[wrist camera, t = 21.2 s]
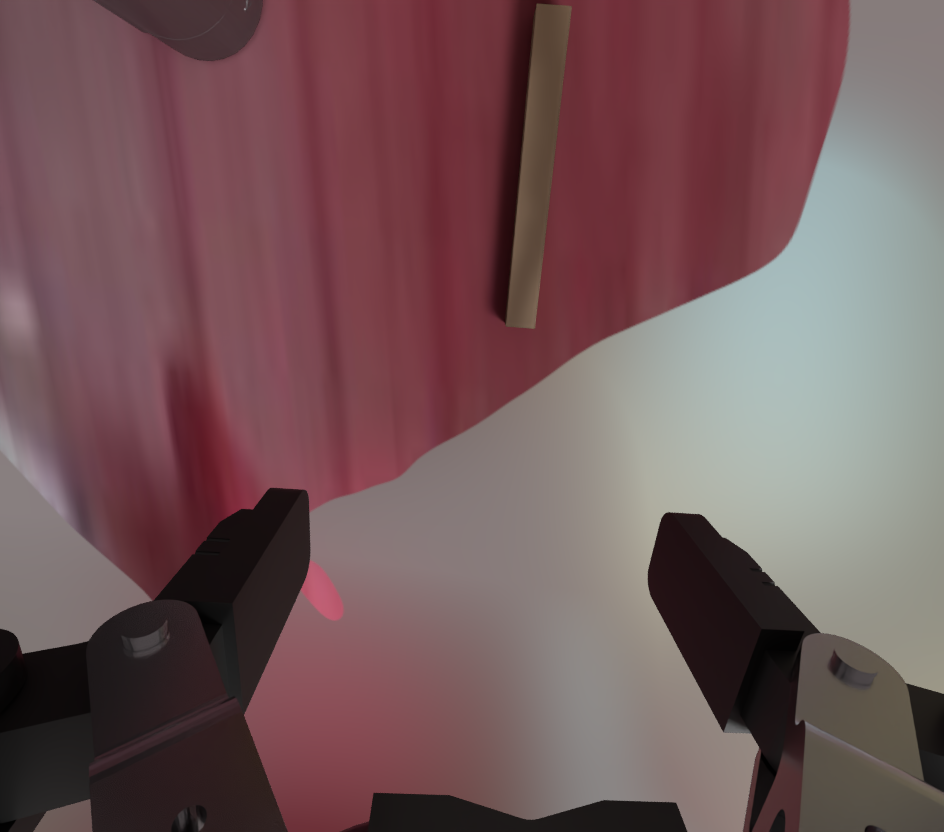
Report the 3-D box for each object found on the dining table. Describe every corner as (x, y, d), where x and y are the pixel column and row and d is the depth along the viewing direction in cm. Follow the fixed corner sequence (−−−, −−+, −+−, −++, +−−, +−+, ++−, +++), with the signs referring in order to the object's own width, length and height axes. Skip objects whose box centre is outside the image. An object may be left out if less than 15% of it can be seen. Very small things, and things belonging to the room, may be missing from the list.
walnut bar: (504, 322, 43) (505, 326, 40) (533, 19, 35) (536, 3, 33) (531, 324, 43) (534, 328, 40) (565, 21, 35) (571, 6, 33)
